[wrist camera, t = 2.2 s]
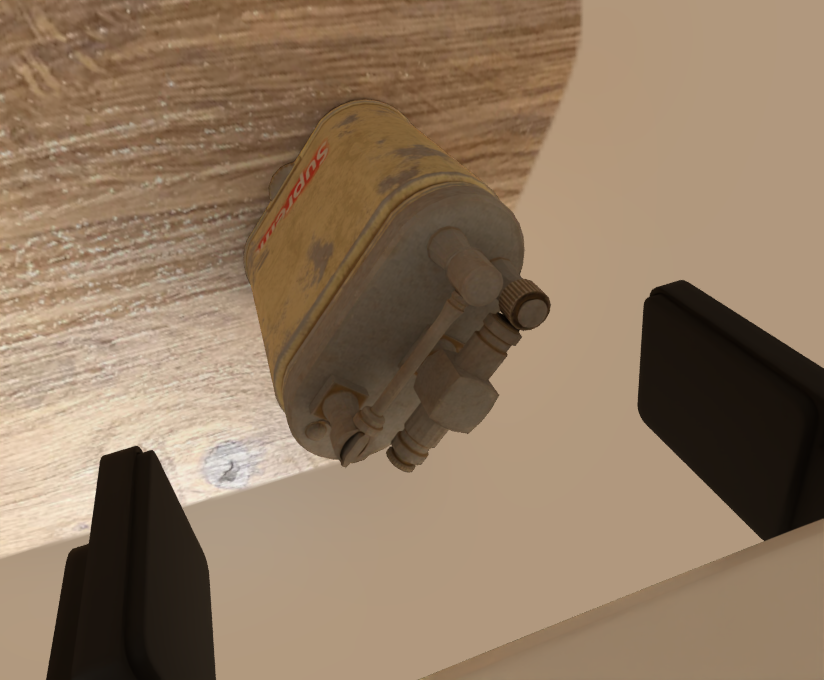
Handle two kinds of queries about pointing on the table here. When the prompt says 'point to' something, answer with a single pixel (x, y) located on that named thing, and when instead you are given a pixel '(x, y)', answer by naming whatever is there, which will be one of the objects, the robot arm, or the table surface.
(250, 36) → the table surface
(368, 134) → the lighter
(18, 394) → the table surface
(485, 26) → the table surface
